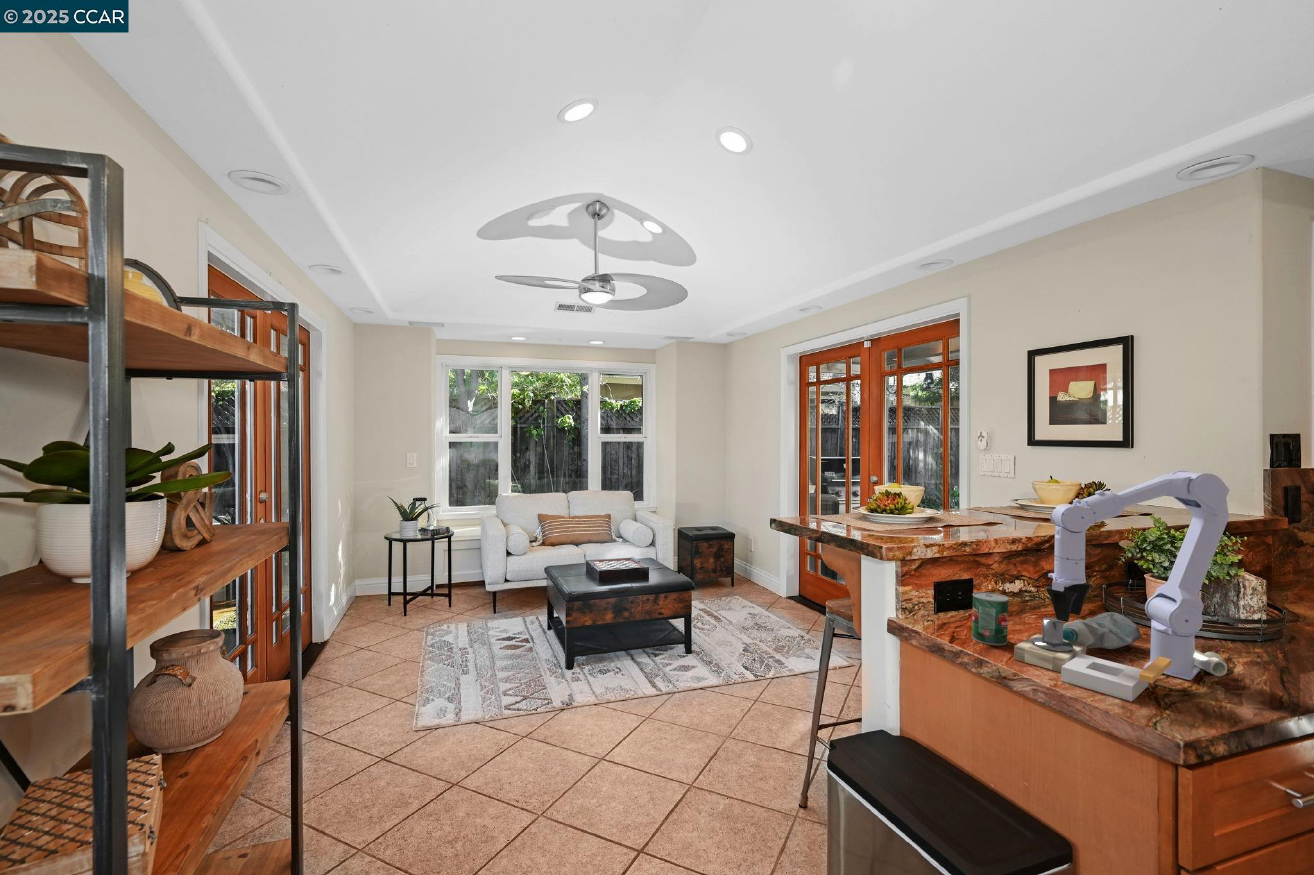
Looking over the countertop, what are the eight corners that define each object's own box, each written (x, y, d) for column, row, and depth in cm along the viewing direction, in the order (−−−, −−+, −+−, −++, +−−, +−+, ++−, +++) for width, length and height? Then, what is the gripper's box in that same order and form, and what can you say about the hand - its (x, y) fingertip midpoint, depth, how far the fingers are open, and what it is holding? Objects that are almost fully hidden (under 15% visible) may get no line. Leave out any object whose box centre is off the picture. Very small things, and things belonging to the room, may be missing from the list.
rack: (1037, 645, 148) (1037, 633, 147) (1085, 658, 140) (1085, 645, 140) (1013, 659, 139) (1014, 646, 139) (1064, 673, 131) (1064, 659, 131)
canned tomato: (1012, 646, 147) (1013, 601, 146) (977, 643, 148) (978, 599, 148) (1001, 635, 154) (1002, 592, 154) (967, 633, 156) (968, 590, 156)
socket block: (1080, 667, 135) (1080, 653, 134) (1148, 685, 125) (1148, 671, 125) (1061, 680, 127) (1061, 666, 127) (1131, 701, 118) (1132, 686, 118)
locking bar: (1158, 661, 128) (1159, 656, 128) (1171, 664, 126) (1171, 659, 126) (1139, 679, 118) (1139, 673, 118) (1152, 683, 117) (1152, 677, 117)
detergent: (1093, 631, 158) (1033, 638, 147) (1097, 605, 158) (1038, 609, 147) (1151, 653, 146) (1091, 661, 135) (1156, 624, 146) (1097, 630, 135)
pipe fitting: (1210, 665, 138) (1179, 662, 139) (1212, 648, 138) (1181, 645, 139) (1242, 679, 130) (1209, 676, 131) (1244, 662, 130) (1211, 658, 131)
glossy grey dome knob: (1040, 650, 145) (1041, 612, 144) (1078, 661, 138) (1080, 621, 138) (1025, 657, 140) (1026, 618, 140) (1064, 668, 133) (1065, 628, 133)
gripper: (1061, 550, 145) (1060, 607, 145) (1037, 558, 136) (1036, 618, 136) (1096, 555, 139) (1095, 614, 139) (1074, 564, 130) (1072, 627, 130)
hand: (1068, 617), depth 137 cm, fingers open, 7 cm apart
